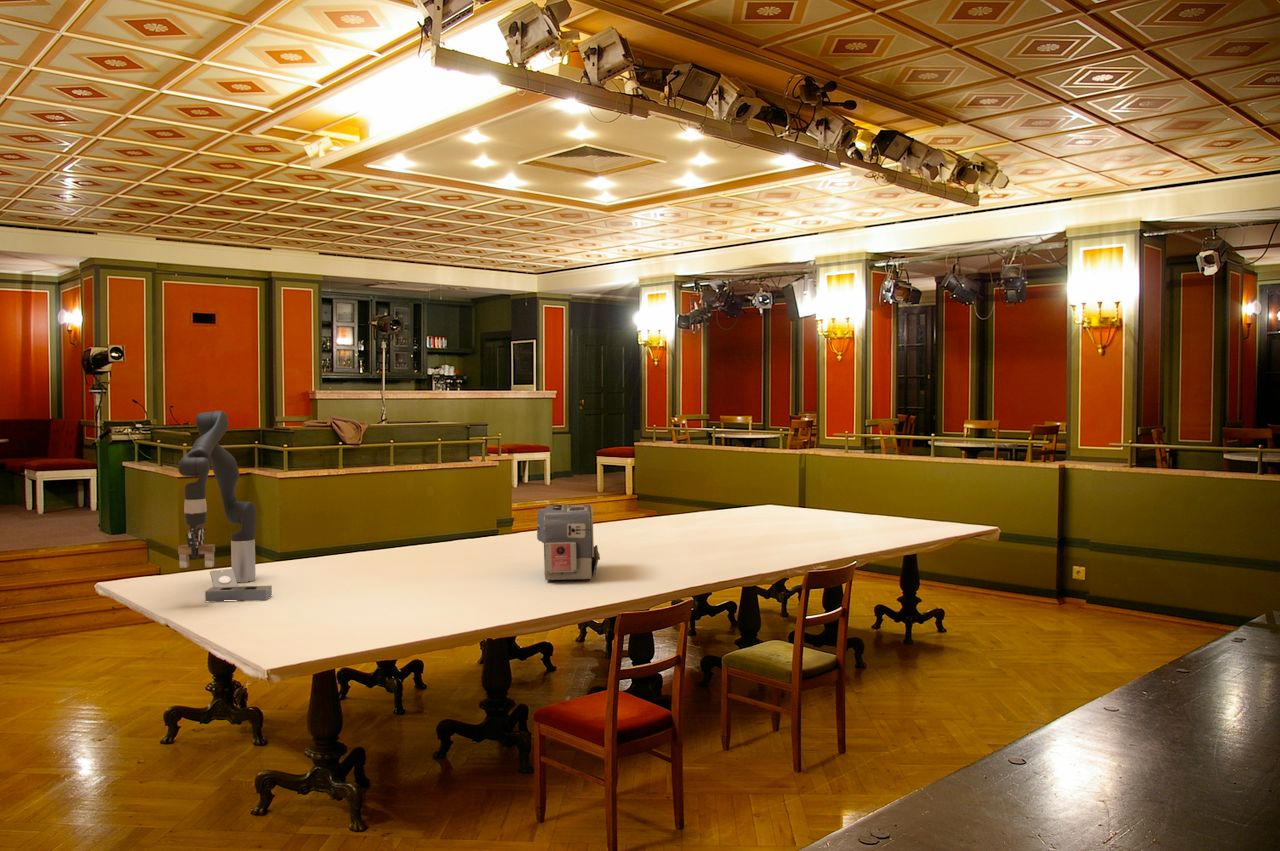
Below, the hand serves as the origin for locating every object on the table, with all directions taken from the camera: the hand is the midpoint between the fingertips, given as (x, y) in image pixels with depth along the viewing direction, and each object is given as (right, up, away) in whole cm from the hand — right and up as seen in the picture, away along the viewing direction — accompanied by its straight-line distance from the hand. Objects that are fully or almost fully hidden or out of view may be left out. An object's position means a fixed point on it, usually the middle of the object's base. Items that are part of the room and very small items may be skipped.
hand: (196, 557), depth 352 cm
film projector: (+134, -15, +52) cm, 144 cm away
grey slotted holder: (+11, -17, +10) cm, 23 cm away
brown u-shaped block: (0, -4, 0) cm, 4 cm away
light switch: (0, -17, +24) cm, 29 cm away
